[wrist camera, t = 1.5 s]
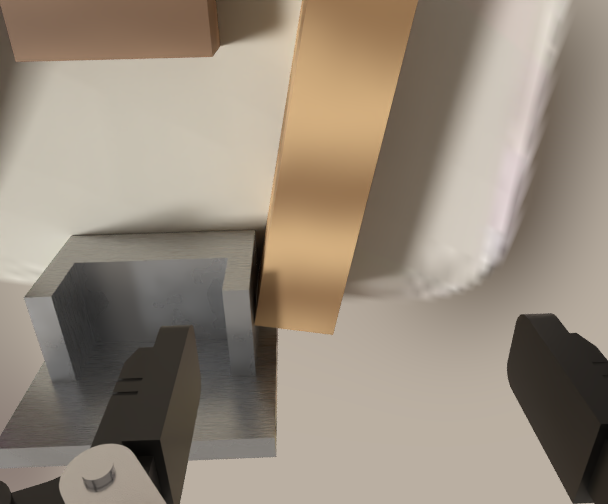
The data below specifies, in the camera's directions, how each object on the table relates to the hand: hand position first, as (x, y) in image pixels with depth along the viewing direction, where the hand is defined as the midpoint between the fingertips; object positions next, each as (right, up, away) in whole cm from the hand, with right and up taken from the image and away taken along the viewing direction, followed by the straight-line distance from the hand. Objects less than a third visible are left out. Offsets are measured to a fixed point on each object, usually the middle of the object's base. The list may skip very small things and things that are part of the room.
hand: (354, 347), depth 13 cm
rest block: (-9, +13, +10) cm, 19 cm away
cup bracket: (-9, 0, +18) cm, 20 cm away
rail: (-1, +8, +14) cm, 16 cm away
